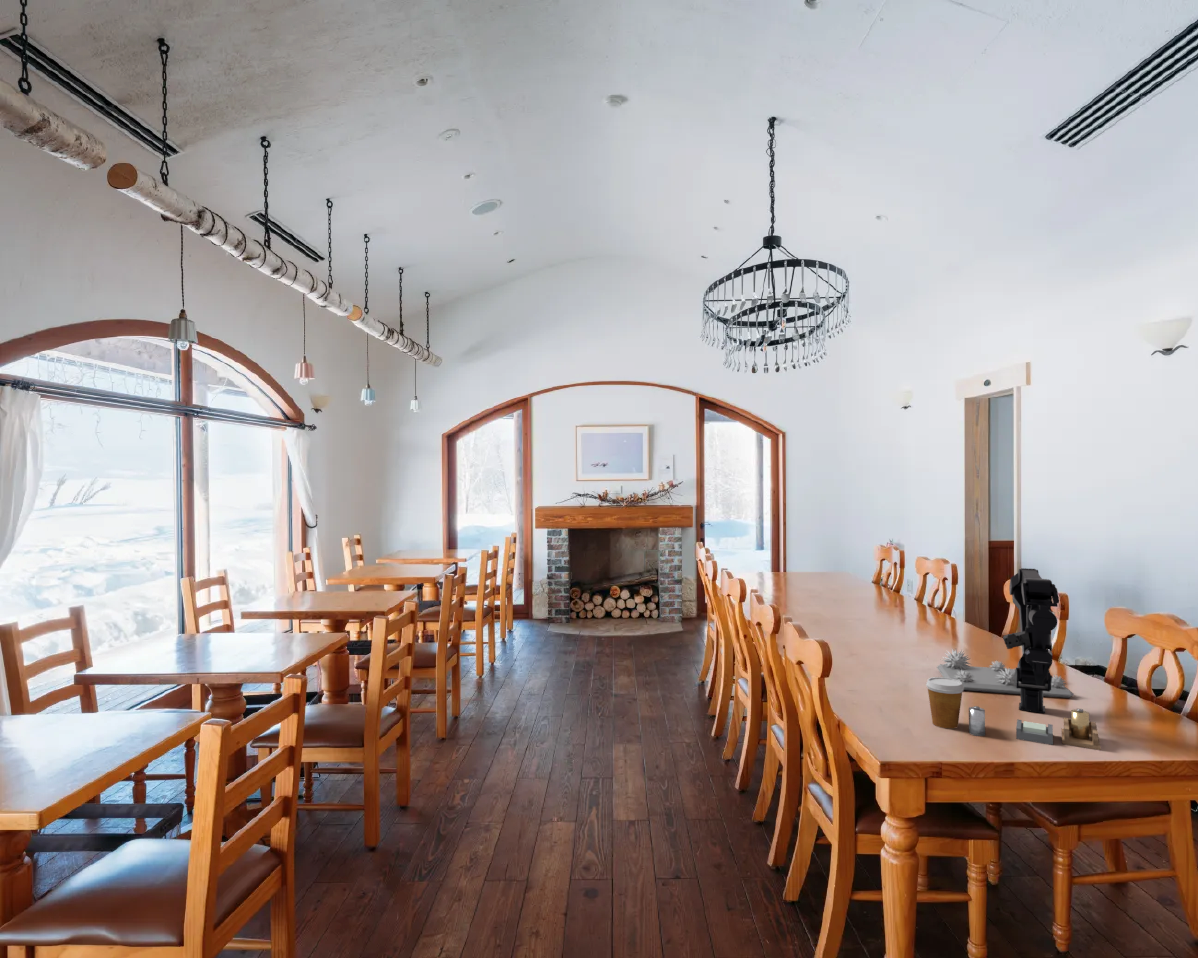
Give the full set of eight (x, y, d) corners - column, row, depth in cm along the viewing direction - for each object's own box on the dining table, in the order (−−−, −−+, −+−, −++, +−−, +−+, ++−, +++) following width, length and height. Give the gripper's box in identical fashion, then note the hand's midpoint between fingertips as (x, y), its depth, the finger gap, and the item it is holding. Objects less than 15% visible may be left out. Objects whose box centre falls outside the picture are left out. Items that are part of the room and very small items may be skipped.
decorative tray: (949, 692, 223) (949, 661, 224) (935, 671, 248) (935, 643, 248) (1075, 701, 213) (1075, 668, 213) (1047, 678, 238) (1047, 649, 238)
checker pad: (1023, 724, 186) (1023, 721, 186) (1045, 728, 183) (1045, 724, 183) (1023, 730, 182) (1023, 726, 182) (1045, 734, 179) (1045, 730, 179)
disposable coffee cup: (952, 718, 197) (952, 676, 197) (971, 730, 188) (971, 686, 188) (919, 719, 197) (919, 676, 197) (937, 731, 187) (936, 686, 187)
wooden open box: (1061, 732, 186) (1061, 717, 186) (1098, 737, 182) (1098, 722, 182) (1062, 743, 178) (1062, 728, 178) (1100, 750, 173) (1100, 734, 173)
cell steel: (969, 729, 188) (969, 703, 188) (985, 732, 186) (985, 706, 186) (968, 734, 185) (968, 707, 185) (984, 737, 183) (984, 710, 183)
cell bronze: (1071, 733, 182) (1071, 706, 182) (1088, 736, 180) (1088, 708, 180) (1071, 737, 179) (1071, 710, 179) (1089, 740, 177) (1089, 712, 177)
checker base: (1017, 729, 188) (1017, 719, 188) (1052, 735, 184) (1052, 724, 184) (1016, 738, 181) (1016, 728, 181) (1052, 744, 177) (1052, 733, 177)
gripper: (1006, 616, 204) (1007, 669, 204) (1003, 627, 189) (1003, 684, 189) (1051, 619, 198) (1052, 674, 198) (1052, 631, 183) (1052, 691, 183)
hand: (1039, 680), depth 192 cm, fingers open, 9 cm apart
